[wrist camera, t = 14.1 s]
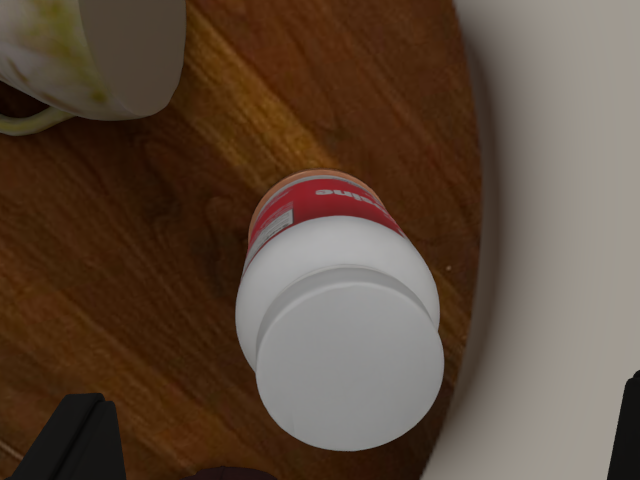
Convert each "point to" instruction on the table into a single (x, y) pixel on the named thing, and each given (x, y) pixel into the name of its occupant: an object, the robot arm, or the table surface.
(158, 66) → the mug
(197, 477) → the watch
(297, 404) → the pill bottle
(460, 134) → the table surface
